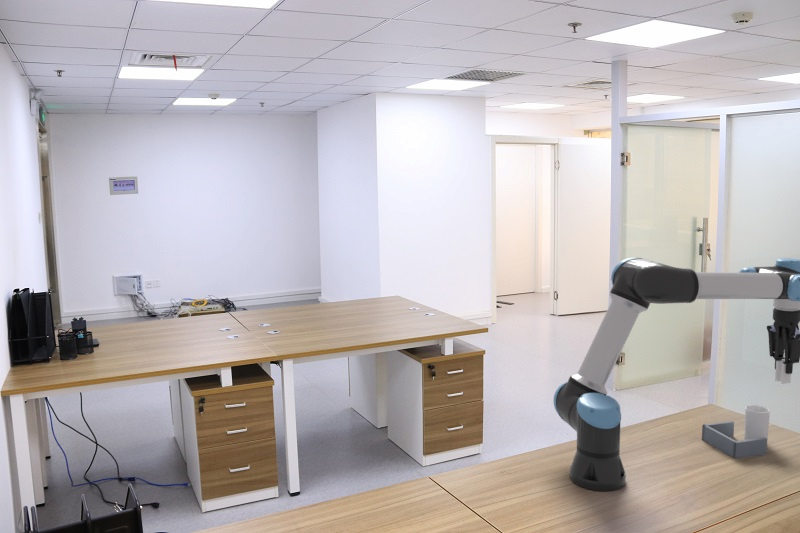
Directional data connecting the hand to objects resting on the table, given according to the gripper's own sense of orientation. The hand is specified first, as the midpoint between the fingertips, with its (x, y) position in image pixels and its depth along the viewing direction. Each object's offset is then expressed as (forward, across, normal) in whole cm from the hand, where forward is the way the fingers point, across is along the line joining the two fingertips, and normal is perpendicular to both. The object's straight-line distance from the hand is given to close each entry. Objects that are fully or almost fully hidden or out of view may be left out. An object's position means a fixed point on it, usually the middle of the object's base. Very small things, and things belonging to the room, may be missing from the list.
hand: (782, 381), depth 208 cm
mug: (+20, 0, +8) cm, 21 cm away
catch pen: (+19, 0, +17) cm, 26 cm away
